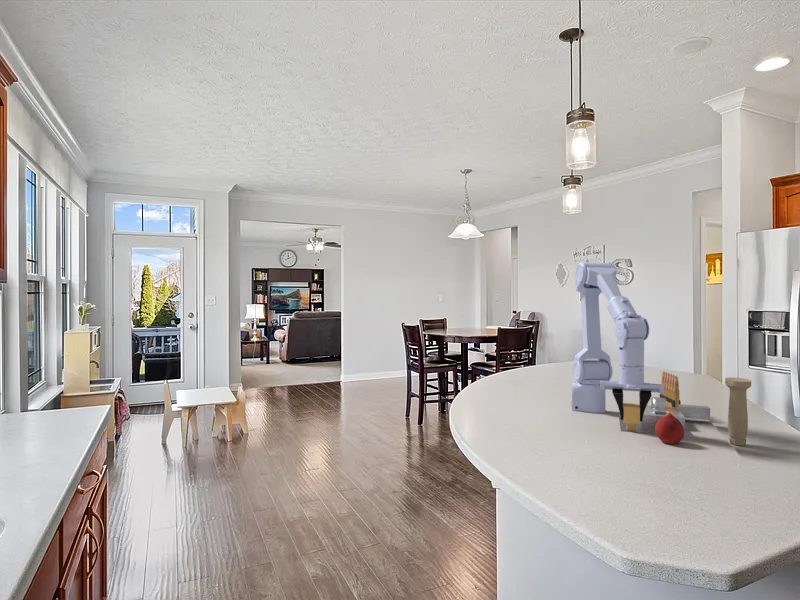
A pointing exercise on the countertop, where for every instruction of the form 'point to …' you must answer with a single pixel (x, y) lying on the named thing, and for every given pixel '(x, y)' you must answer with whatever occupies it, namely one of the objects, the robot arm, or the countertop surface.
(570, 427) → the countertop surface
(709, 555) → the countertop surface
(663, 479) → the countertop surface
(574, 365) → the robot arm
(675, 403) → the ammunition clip
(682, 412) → the grey stepped platform
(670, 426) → the onion
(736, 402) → the handle
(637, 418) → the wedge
